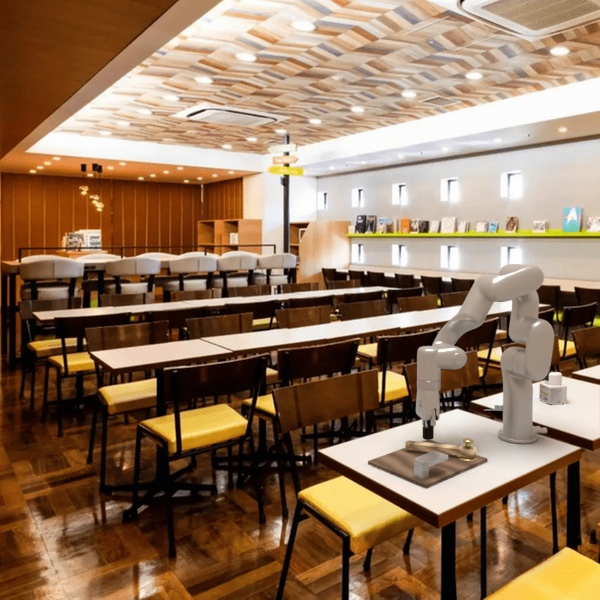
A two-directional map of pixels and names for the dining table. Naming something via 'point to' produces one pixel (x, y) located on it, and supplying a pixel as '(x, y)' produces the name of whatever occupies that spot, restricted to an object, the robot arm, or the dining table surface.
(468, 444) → the brass pin
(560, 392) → the container
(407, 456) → the walnut board
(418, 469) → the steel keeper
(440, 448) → the arm link
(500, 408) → the metal bracket
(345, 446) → the dining table surface
